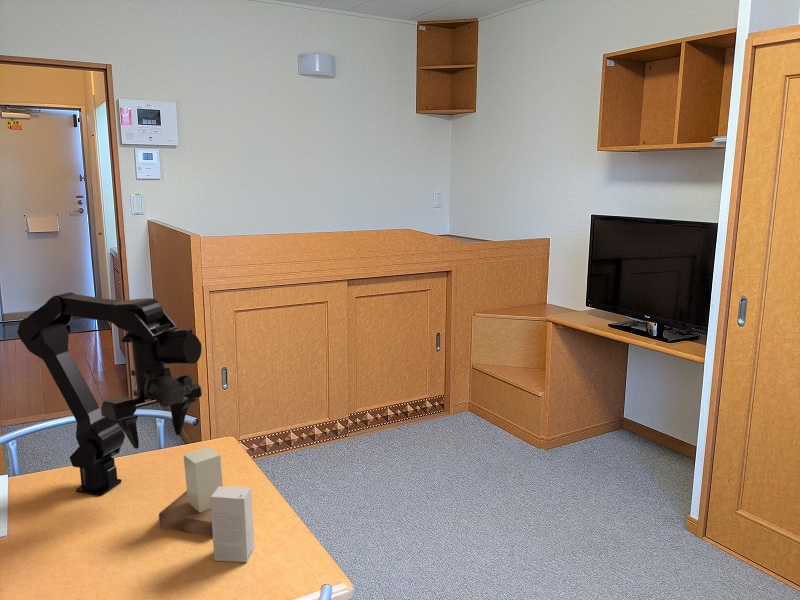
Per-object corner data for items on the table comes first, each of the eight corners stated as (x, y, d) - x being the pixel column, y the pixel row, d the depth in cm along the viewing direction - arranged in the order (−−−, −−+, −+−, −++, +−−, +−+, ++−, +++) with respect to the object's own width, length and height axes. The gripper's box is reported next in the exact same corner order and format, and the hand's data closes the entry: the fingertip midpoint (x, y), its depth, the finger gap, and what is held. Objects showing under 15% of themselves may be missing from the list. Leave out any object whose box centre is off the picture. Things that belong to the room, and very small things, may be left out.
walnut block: (160, 530, 124) (158, 513, 123) (195, 499, 135) (194, 484, 134) (217, 540, 121) (216, 522, 120) (248, 507, 132) (247, 491, 131)
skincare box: (255, 549, 117) (252, 486, 114) (247, 563, 113) (244, 499, 110) (222, 547, 117) (218, 485, 115) (213, 561, 113) (209, 497, 111)
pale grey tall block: (187, 502, 127) (183, 454, 125) (212, 493, 130) (208, 446, 128) (199, 512, 123) (195, 463, 121) (224, 503, 126) (220, 455, 124)
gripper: (126, 377, 117) (136, 462, 118) (214, 357, 131) (222, 433, 133) (95, 372, 123) (104, 453, 125) (182, 354, 138) (189, 426, 140)
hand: (157, 441), depth 130 cm, fingers open, 9 cm apart
